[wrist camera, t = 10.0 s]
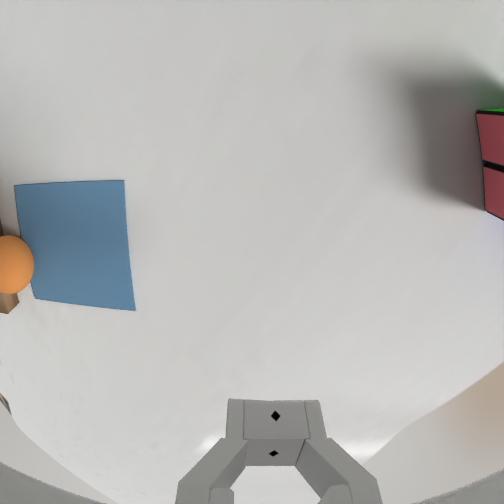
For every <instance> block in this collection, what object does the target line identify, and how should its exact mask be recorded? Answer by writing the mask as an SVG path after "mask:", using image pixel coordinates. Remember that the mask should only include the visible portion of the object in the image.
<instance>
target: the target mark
mask: <svg viewBox="0 0 504 504" xmlns="http://www.w3.org/2000/svg"><path fill="white" fill-rule="evenodd" d="M14 187H15V196H16V205H17V212H18V219H19V226H20V232H21V238H22V240H23V241H24V242H25V243H26V244H27V245H28V246H29V248H30V250H31V252H32V254H33V258H34V272H33V276H32V278H31V280H30V281H31V285H32V289H33V293H34V296H35V299H41V300H47V301H54V302H62V303H69V304H77V305H85V306H93V307H102V308H111V309H120V310H130V311H135V310H136V308H135V301H134V294H133V286H132V278H131V269H130V260H129V249H128V238H127V225H126V210H125V190H124V180H117V181H81V182H59V183H41V184H27V185H15V186H14Z"/></svg>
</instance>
